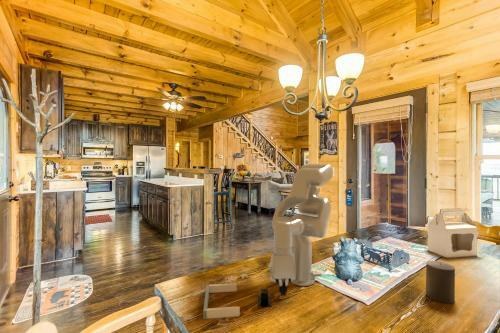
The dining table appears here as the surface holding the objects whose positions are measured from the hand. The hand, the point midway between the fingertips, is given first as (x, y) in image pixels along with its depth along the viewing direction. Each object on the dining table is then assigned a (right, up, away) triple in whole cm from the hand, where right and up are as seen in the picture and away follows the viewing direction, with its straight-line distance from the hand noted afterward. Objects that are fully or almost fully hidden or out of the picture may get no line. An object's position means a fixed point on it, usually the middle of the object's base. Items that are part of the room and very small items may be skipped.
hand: (282, 294), depth 104 cm
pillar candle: (+67, -2, +1) cm, 66 cm away
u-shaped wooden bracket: (-25, -2, -3) cm, 25 cm away
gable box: (+114, -2, +53) cm, 125 cm away
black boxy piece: (-8, -3, -1) cm, 8 cm away
